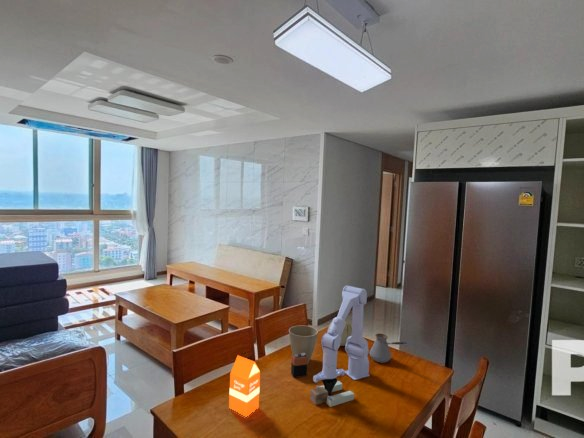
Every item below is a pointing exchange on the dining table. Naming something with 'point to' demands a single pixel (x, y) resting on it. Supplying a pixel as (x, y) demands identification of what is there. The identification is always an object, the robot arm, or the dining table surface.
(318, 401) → the block
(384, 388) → the dining table surface
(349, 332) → the cantaloupe
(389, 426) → the dining table surface
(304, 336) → the plant pot
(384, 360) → the coffee pot
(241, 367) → the orange juice
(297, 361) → the battery
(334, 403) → the rails
